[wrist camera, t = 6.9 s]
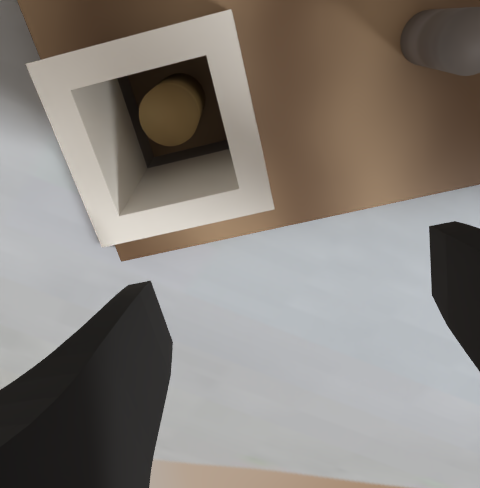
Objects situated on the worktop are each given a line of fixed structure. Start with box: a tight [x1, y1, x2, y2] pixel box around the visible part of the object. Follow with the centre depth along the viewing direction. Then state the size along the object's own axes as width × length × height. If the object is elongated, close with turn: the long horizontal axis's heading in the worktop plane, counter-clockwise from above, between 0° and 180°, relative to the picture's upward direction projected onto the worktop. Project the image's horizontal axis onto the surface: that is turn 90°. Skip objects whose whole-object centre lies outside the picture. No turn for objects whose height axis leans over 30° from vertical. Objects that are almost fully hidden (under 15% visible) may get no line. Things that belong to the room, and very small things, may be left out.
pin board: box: [17, 0, 480, 261], centre depth 15 cm, size 18×12×4 cm, turn 103°
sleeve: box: [26, 9, 274, 248], centre depth 14 cm, size 5×5×6 cm
